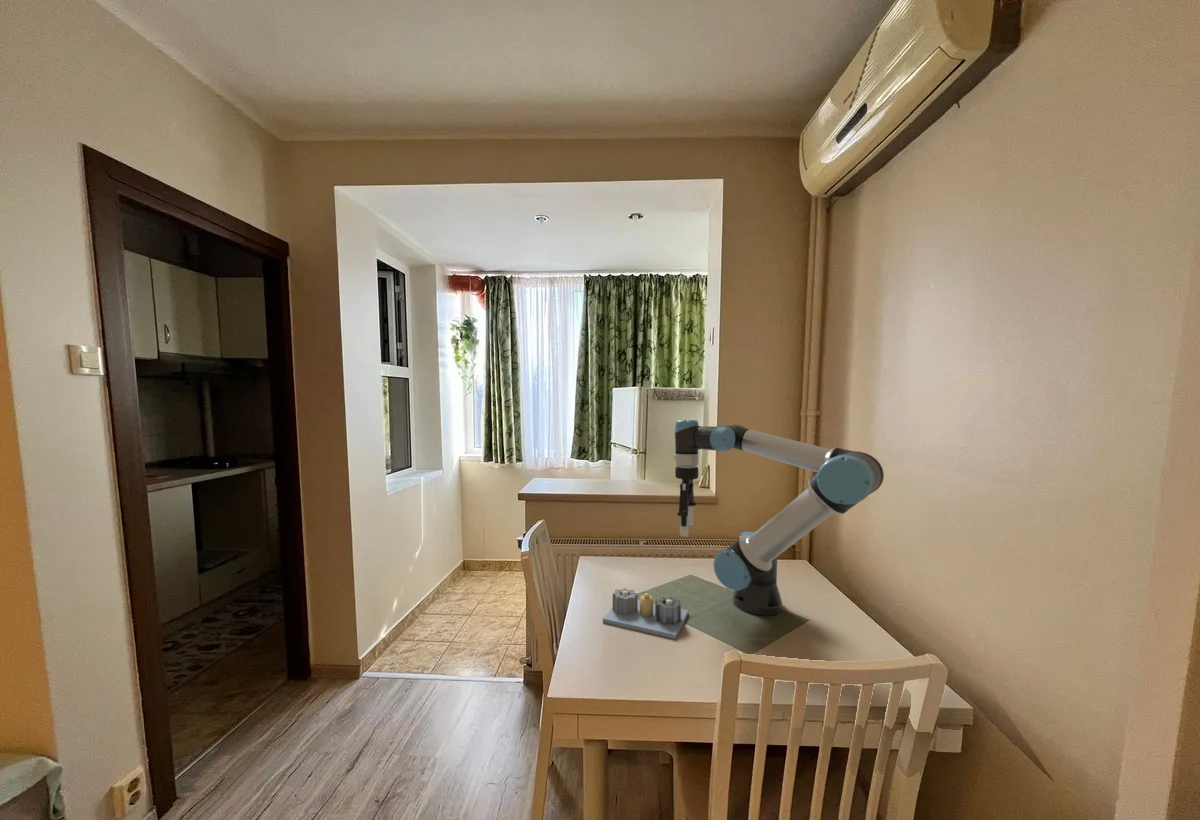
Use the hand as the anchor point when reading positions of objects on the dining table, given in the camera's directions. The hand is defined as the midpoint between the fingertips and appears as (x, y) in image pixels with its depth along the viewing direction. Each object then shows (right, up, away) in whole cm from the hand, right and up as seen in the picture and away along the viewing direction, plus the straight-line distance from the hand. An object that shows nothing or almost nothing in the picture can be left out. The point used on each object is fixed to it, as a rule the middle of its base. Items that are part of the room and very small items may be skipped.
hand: (687, 530), depth 145 cm
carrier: (-15, -23, -12) cm, 30 cm away
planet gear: (-9, -22, -15) cm, 28 cm away
